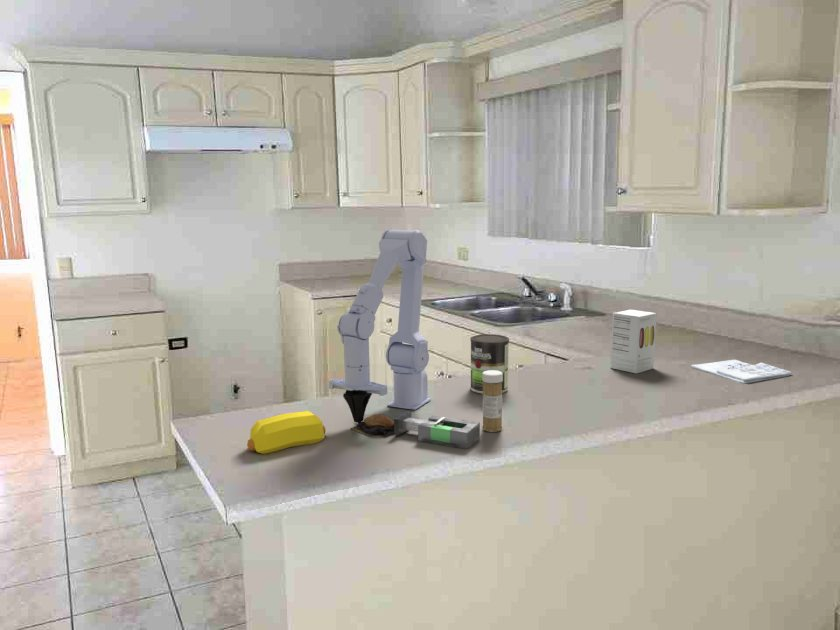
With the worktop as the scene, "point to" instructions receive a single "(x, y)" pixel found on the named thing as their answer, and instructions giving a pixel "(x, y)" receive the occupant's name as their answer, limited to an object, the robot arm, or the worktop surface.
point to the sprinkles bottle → (492, 400)
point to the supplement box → (633, 341)
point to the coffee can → (488, 359)
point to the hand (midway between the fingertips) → (358, 421)
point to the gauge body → (450, 432)
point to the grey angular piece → (410, 423)
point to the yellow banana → (285, 432)
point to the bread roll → (376, 426)
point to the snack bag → (742, 371)
